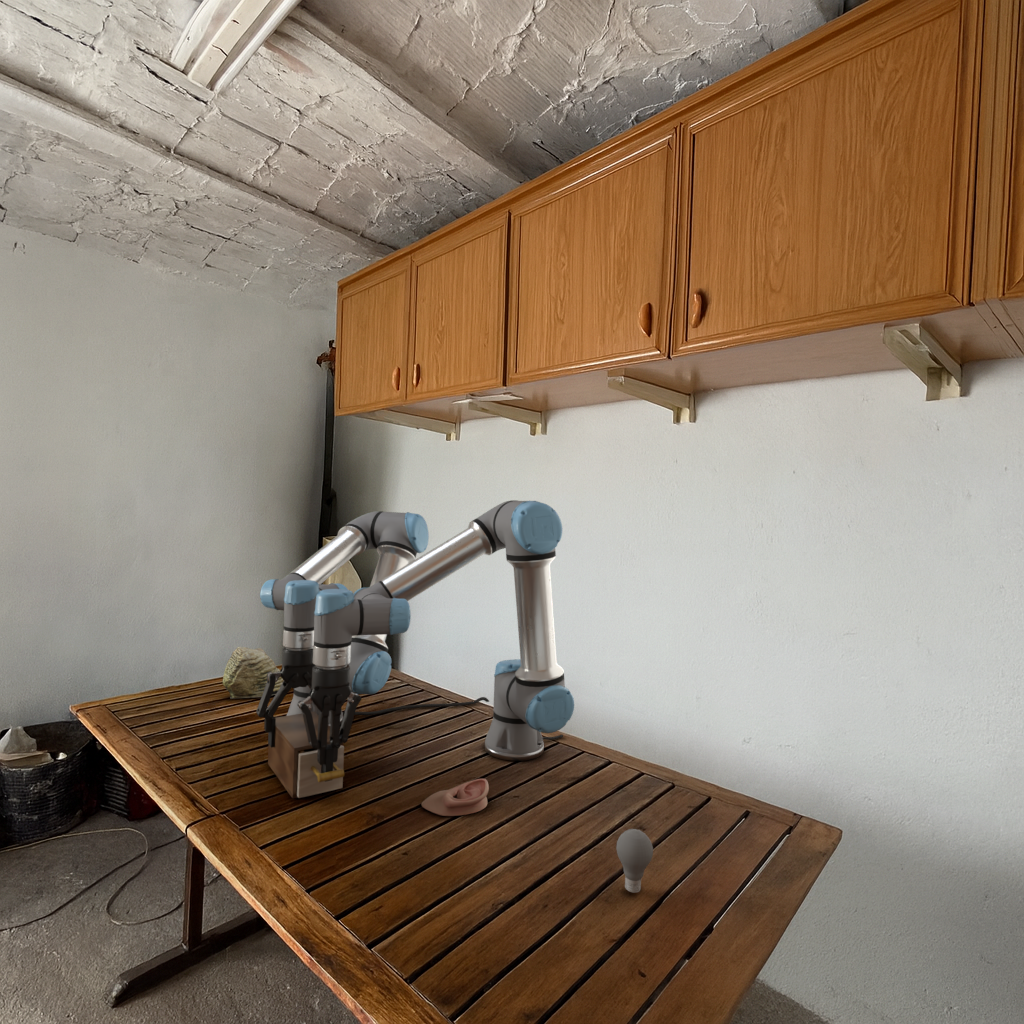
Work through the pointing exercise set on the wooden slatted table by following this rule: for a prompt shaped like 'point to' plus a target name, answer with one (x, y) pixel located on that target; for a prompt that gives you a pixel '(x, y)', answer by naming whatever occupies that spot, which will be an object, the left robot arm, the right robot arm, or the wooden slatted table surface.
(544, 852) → the wooden slatted table surface
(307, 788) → the drawer
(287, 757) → the cabinet
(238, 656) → the fossil
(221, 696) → the wooden slatted table surface
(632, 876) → the light bulb
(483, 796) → the anatomical model
